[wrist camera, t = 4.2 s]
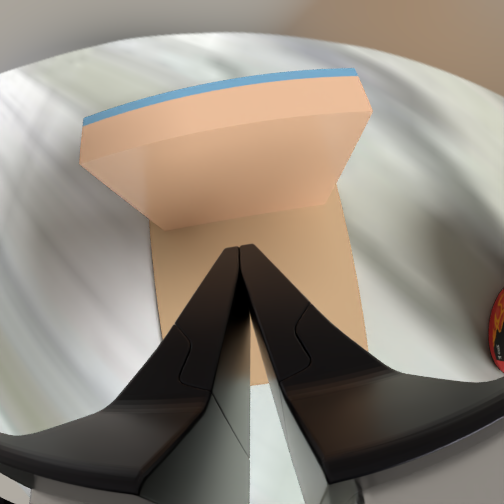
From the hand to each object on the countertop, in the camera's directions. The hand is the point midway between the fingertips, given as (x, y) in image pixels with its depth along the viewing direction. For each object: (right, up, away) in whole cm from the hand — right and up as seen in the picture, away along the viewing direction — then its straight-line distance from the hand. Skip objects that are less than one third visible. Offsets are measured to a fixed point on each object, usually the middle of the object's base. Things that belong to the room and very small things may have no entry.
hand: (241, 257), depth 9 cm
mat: (0, -2, +10) cm, 10 cm away
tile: (0, +3, +10) cm, 11 cm away
